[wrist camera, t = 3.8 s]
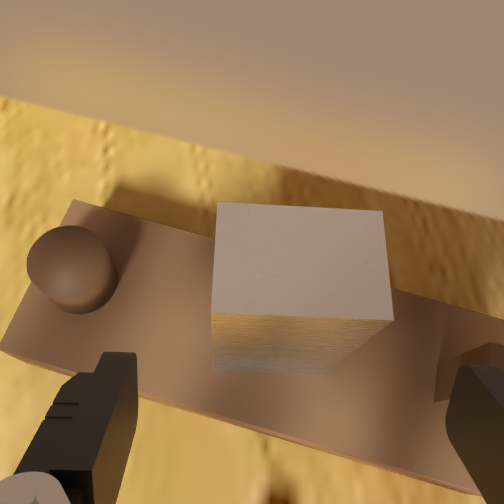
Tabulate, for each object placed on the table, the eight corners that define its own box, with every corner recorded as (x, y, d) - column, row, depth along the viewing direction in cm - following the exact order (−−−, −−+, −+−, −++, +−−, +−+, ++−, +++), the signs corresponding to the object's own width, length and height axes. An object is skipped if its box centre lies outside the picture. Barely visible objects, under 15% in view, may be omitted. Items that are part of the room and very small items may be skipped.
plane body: (475, 338, 23) (578, 292, 16) (465, 493, 20) (584, 511, 13) (89, 229, 23) (42, 144, 17) (26, 363, 21) (-59, 321, 14)
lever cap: (319, 293, 20) (381, 197, 12) (322, 374, 18) (394, 320, 11) (217, 288, 20) (218, 188, 12) (212, 370, 18) (210, 312, 11)
